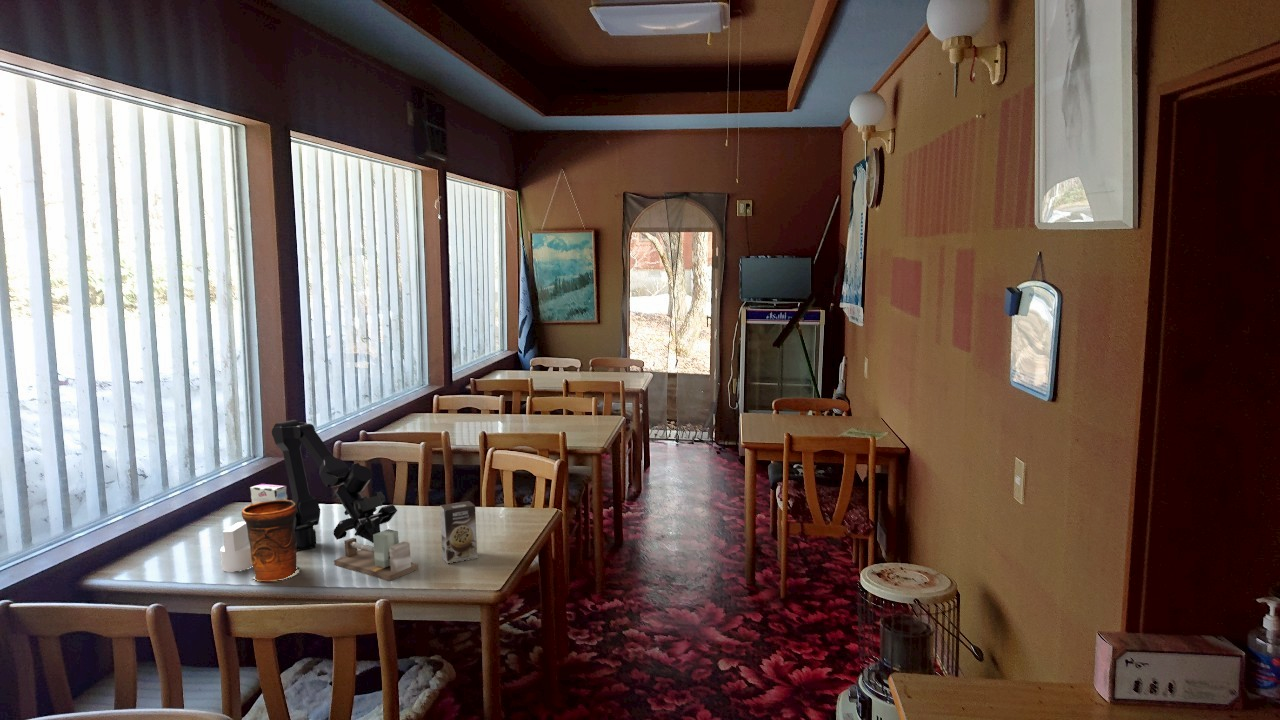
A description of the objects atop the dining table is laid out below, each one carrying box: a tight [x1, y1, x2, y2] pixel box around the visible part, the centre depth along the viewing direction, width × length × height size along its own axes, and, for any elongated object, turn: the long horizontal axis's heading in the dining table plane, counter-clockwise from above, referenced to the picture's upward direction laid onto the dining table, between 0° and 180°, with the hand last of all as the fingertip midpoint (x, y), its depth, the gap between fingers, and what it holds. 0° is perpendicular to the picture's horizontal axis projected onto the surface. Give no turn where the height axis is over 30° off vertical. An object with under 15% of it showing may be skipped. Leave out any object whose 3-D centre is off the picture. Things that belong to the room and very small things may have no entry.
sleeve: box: [373, 528, 400, 568], centre depth 229 cm, size 4×5×9 cm
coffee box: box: [439, 500, 478, 564], centre depth 237 cm, size 9×6×16 cm
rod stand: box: [333, 537, 419, 582], centre depth 232 cm, size 24×10×8 cm, turn 57°
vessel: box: [241, 499, 298, 582], centre depth 228 cm, size 14×14×20 cm
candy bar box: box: [249, 483, 289, 505], centre depth 261 cm, size 11×5×16 cm, turn 68°
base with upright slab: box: [219, 521, 253, 573], centre depth 235 cm, size 9×9×12 cm
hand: (381, 545), depth 230 cm, fingers closed
